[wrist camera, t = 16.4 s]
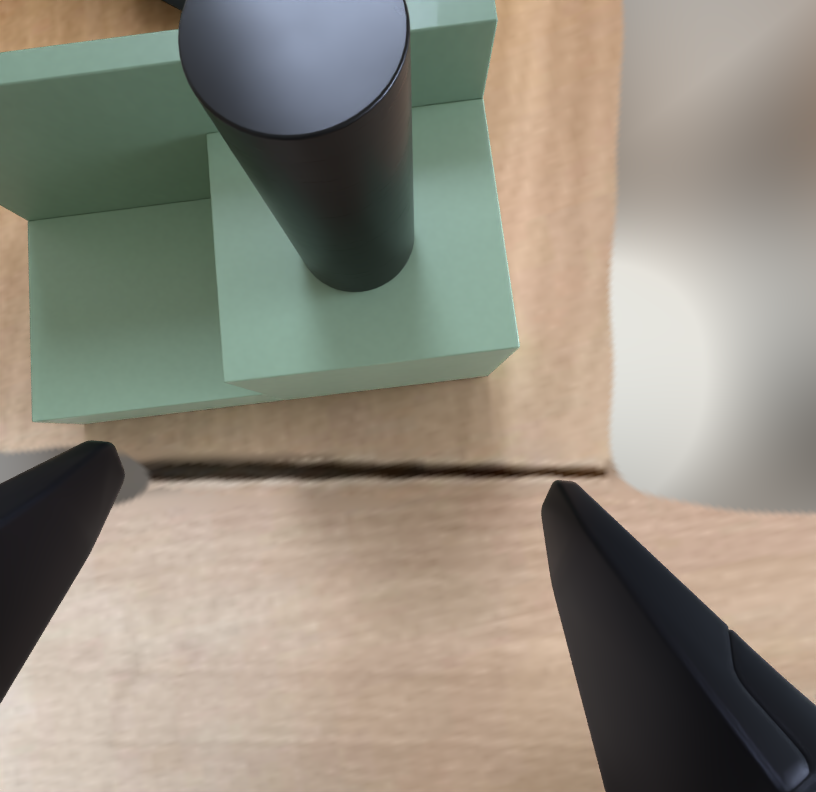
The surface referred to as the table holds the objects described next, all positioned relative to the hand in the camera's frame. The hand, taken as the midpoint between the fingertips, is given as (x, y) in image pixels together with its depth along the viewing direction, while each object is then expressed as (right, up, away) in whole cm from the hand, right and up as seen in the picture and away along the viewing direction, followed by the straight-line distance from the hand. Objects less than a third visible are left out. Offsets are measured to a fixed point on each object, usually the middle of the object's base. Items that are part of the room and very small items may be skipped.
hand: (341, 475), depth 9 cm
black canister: (-1, +8, +7) cm, 10 cm away
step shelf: (-6, +6, +14) cm, 17 cm away
